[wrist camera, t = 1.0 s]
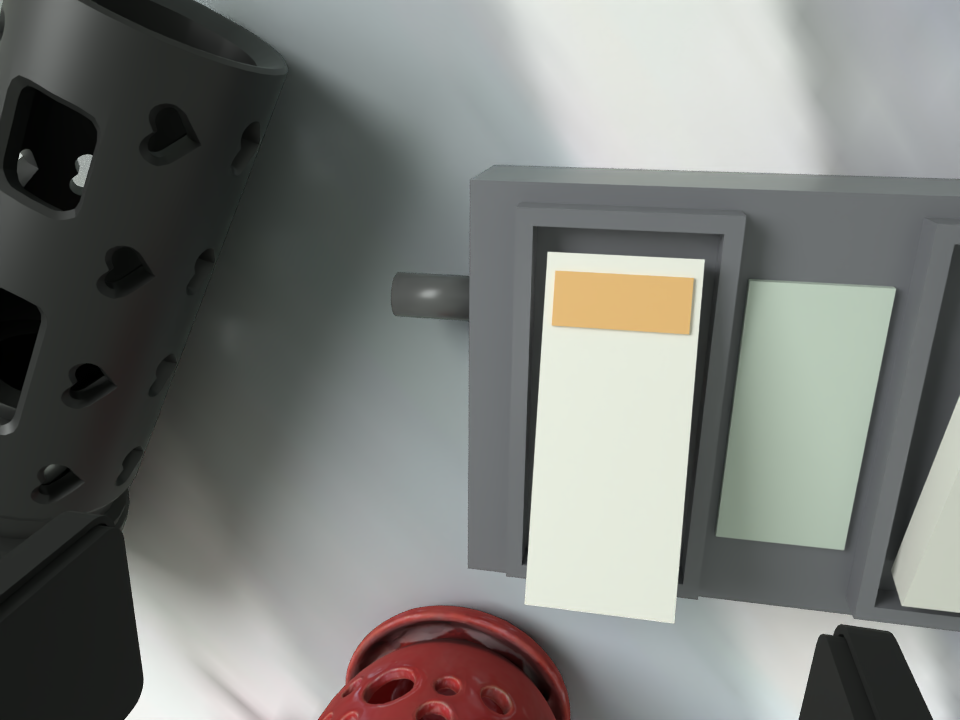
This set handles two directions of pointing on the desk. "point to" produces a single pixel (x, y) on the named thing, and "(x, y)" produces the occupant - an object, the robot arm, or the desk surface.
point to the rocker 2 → (934, 534)
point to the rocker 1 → (613, 433)
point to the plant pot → (449, 671)
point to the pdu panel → (735, 365)
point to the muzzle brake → (110, 230)
